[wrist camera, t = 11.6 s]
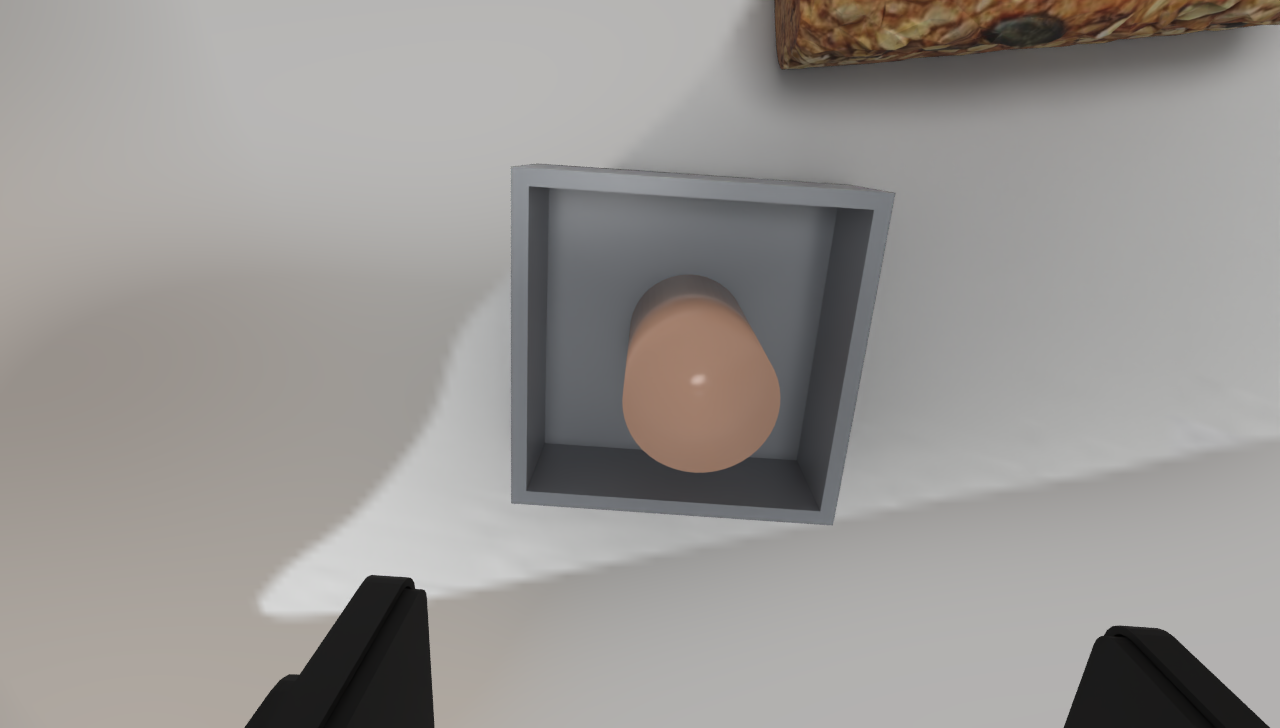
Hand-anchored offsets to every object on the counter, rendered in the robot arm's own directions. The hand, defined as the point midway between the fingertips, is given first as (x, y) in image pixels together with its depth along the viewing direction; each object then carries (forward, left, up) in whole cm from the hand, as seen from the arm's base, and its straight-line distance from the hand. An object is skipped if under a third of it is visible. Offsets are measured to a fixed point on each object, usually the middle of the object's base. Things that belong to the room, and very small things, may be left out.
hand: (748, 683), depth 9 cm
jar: (0, 0, -20) cm, 20 cm away
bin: (0, 0, -20) cm, 20 cm away
